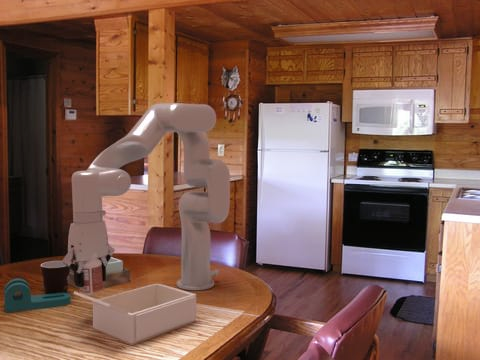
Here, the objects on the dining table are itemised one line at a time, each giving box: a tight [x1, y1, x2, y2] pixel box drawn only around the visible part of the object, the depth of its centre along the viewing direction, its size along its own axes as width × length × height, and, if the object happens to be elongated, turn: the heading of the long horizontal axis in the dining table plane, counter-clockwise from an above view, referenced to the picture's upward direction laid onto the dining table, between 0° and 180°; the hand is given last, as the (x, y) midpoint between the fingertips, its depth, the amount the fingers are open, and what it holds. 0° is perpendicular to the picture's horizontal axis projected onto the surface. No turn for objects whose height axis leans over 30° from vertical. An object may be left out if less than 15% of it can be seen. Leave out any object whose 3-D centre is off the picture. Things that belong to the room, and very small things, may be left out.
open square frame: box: [68, 267, 131, 289], centre depth 179 cm, size 17×17×4 cm
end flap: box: [73, 291, 128, 314], centre depth 128 cm, size 1×14×6 cm
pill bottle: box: [78, 253, 104, 296], centre depth 142 cm, size 6×6×11 cm
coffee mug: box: [40, 260, 70, 294], centre depth 164 cm, size 12×9×10 cm
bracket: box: [3, 278, 72, 314], centre depth 154 cm, size 18×7×8 cm, turn 115°
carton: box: [92, 283, 197, 346], centre depth 139 cm, size 22×17×8 cm
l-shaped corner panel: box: [106, 256, 124, 274], centre depth 178 cm, size 12×12×8 cm
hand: (90, 282), depth 142 cm, fingers closed on pill bottle, 6 cm apart
